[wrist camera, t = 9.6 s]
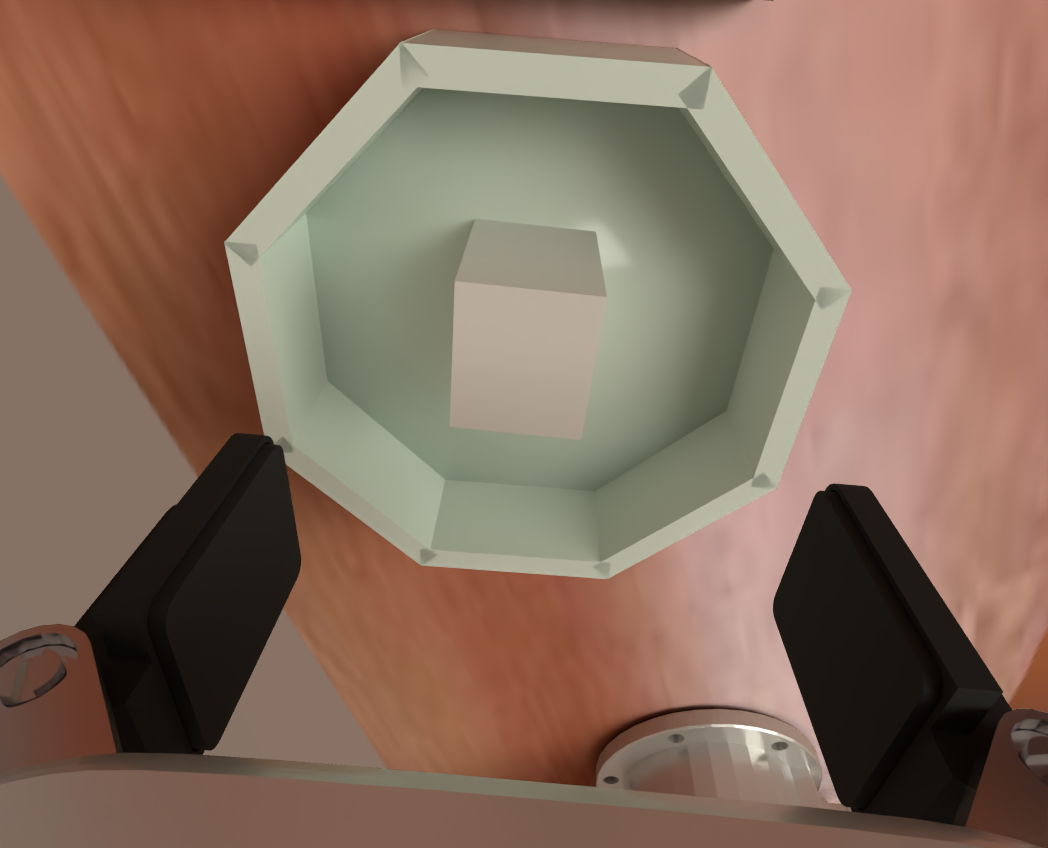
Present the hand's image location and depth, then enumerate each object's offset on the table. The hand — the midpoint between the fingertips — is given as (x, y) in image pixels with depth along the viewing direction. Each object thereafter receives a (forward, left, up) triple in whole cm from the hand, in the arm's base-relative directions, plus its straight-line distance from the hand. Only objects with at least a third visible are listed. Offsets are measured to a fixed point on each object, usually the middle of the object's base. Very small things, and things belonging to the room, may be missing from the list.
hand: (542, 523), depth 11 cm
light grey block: (+1, 0, -11) cm, 11 cm away
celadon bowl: (0, +1, -11) cm, 11 cm away
